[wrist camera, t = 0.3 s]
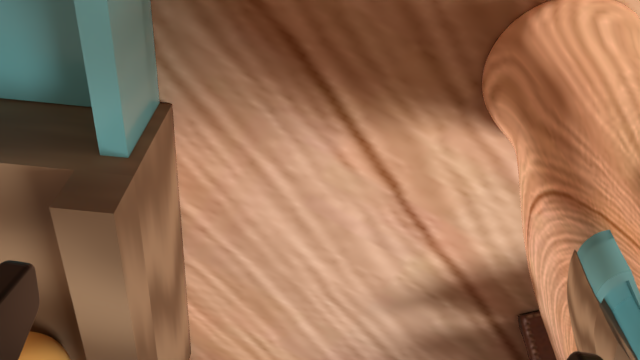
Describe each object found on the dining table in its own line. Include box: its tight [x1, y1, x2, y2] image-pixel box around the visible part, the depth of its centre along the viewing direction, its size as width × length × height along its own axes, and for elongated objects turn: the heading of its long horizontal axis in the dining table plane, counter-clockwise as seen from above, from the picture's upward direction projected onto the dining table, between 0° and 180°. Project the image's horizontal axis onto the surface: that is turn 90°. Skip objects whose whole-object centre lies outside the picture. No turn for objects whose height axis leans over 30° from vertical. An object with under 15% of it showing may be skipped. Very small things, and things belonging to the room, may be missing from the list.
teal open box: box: [0, 0, 160, 158], centre depth 20 cm, size 8×9×4 cm
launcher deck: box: [0, 98, 191, 360], centre depth 26 cm, size 16×10×7 cm, turn 175°
